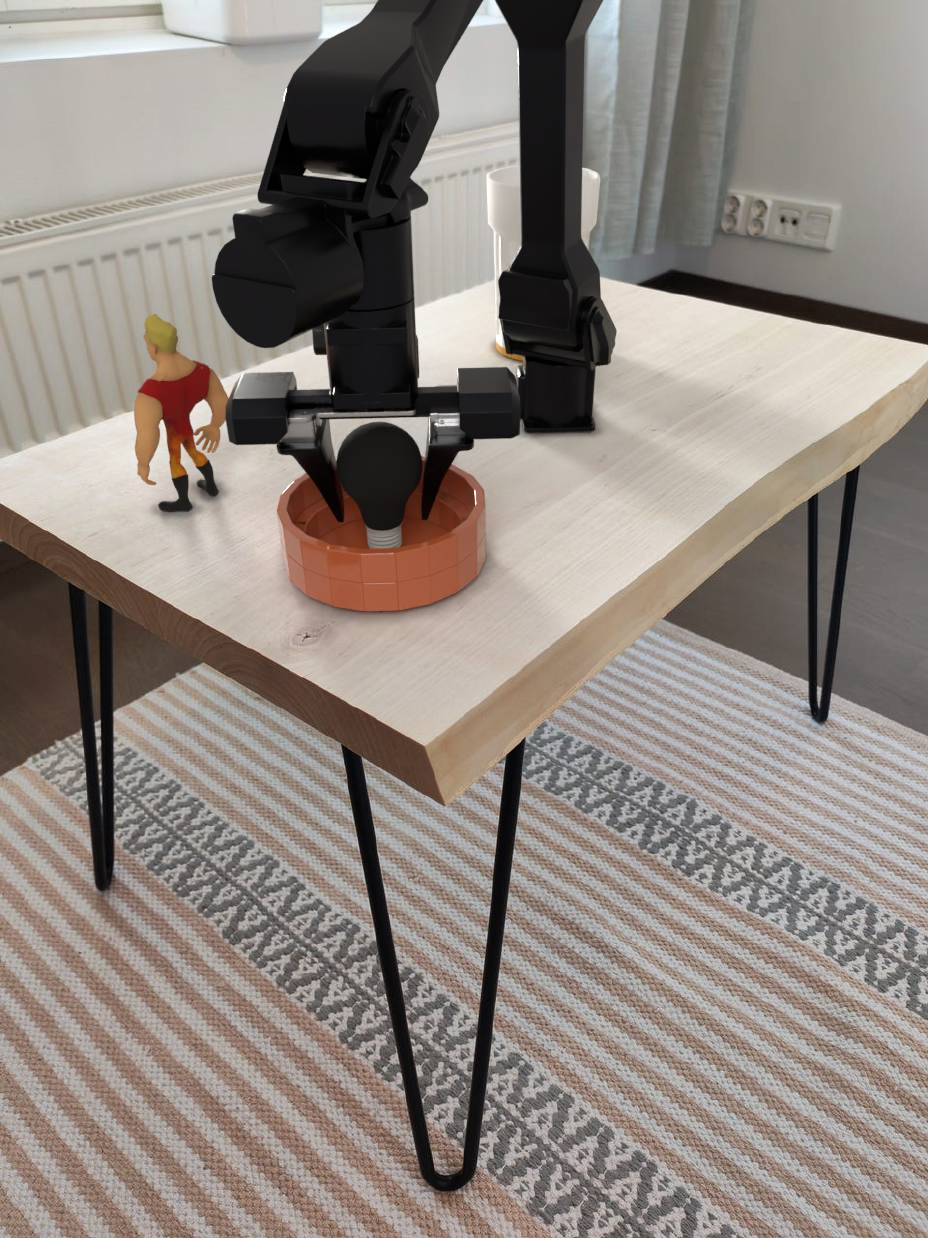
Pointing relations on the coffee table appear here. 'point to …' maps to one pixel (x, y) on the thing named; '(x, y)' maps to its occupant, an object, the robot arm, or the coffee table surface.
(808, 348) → the coffee table surface
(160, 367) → the action figure
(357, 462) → the light bulb
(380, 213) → the robot arm
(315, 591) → the bowl
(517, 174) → the cup
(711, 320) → the coffee table surface
